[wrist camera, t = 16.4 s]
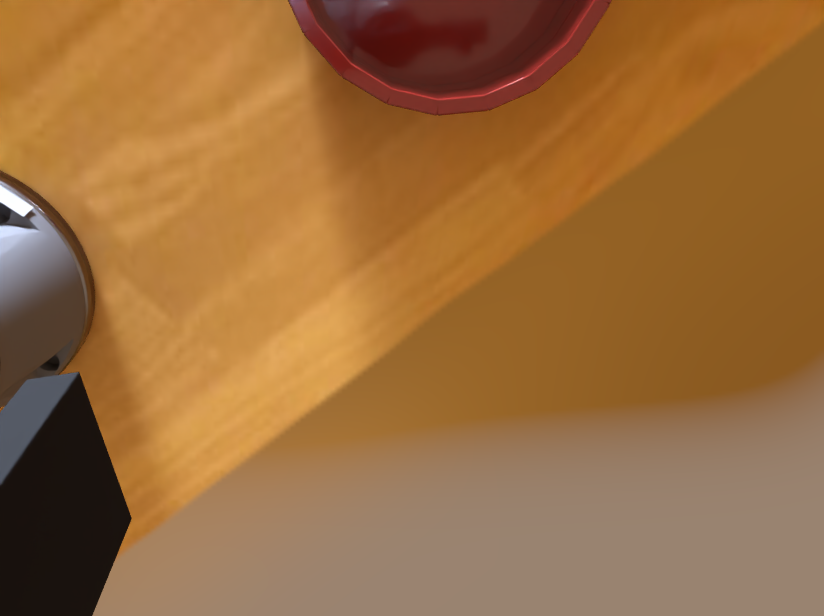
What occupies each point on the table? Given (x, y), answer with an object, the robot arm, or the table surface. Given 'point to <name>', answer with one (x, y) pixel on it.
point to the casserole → (448, 47)
